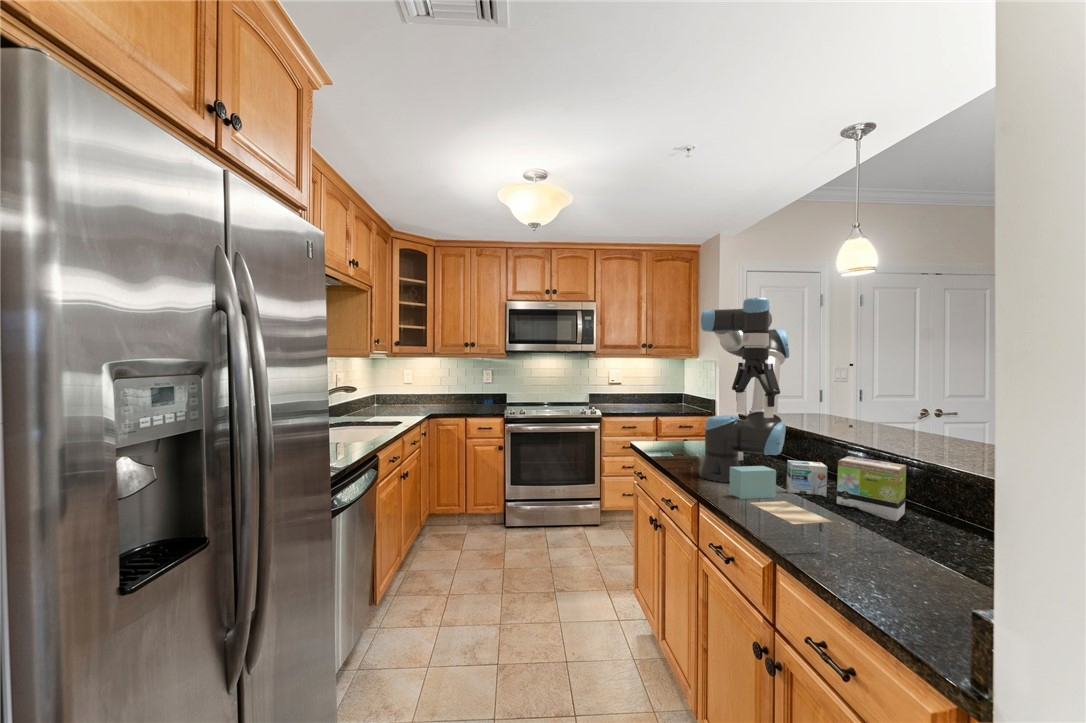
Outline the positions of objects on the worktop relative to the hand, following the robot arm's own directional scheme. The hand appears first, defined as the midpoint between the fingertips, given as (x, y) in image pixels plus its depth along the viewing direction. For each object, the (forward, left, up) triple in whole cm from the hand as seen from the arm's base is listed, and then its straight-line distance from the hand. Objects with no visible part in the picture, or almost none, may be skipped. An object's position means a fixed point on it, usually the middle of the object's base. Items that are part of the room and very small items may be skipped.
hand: (754, 415), depth 145 cm
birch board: (+16, 0, -27) cm, 31 cm away
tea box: (+15, +28, -27) cm, 42 cm away
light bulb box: (-2, +21, -27) cm, 34 cm away
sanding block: (0, 0, -27) cm, 27 cm away
